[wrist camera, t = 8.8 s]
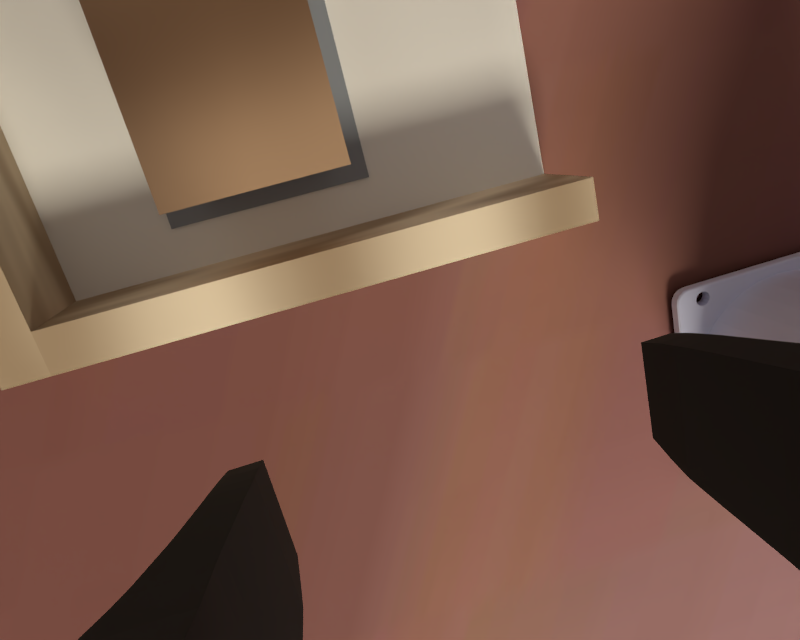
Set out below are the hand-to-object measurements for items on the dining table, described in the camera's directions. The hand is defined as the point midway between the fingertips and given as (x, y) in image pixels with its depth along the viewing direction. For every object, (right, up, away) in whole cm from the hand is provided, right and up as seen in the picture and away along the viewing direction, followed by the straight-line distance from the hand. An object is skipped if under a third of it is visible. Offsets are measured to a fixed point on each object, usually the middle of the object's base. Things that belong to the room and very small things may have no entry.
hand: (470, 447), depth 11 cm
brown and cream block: (-6, +9, +6) cm, 12 cm away
